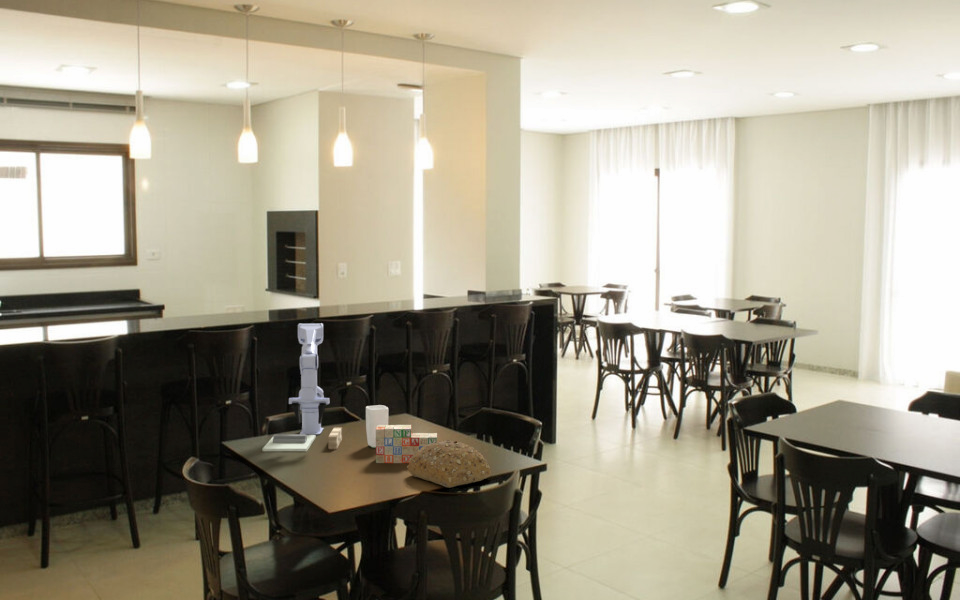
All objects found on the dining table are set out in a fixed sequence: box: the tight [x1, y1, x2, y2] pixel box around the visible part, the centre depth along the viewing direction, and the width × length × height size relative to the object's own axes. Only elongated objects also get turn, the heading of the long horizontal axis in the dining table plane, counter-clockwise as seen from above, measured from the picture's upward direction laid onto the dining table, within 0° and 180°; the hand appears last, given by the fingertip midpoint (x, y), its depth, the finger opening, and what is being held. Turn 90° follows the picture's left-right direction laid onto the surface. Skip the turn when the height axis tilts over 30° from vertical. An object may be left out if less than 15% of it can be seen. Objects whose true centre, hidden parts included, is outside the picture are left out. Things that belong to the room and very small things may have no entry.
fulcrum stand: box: [262, 433, 317, 452], centre depth 305 cm, size 20×16×4 cm
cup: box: [365, 404, 389, 449], centre depth 303 cm, size 7×7×15 cm
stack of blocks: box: [375, 424, 438, 464], centre depth 285 cm, size 21×6×12 cm, turn 91°
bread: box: [406, 439, 492, 489], centre depth 265 cm, size 24×21×12 cm
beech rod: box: [327, 426, 343, 450], centre depth 306 cm, size 14×3×5 cm, turn 2°
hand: (309, 423), depth 298 cm, fingers open, 7 cm apart
